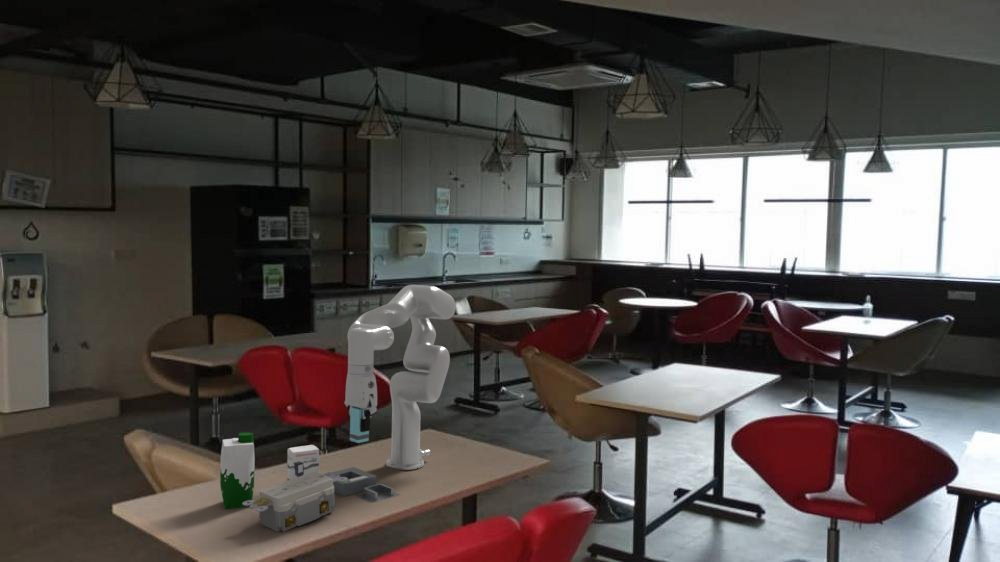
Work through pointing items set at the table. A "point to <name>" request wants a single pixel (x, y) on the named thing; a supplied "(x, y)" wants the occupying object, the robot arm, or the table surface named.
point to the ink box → (302, 461)
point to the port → (353, 481)
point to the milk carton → (237, 470)
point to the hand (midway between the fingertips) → (360, 429)
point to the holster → (377, 493)
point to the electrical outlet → (296, 501)
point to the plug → (357, 426)
